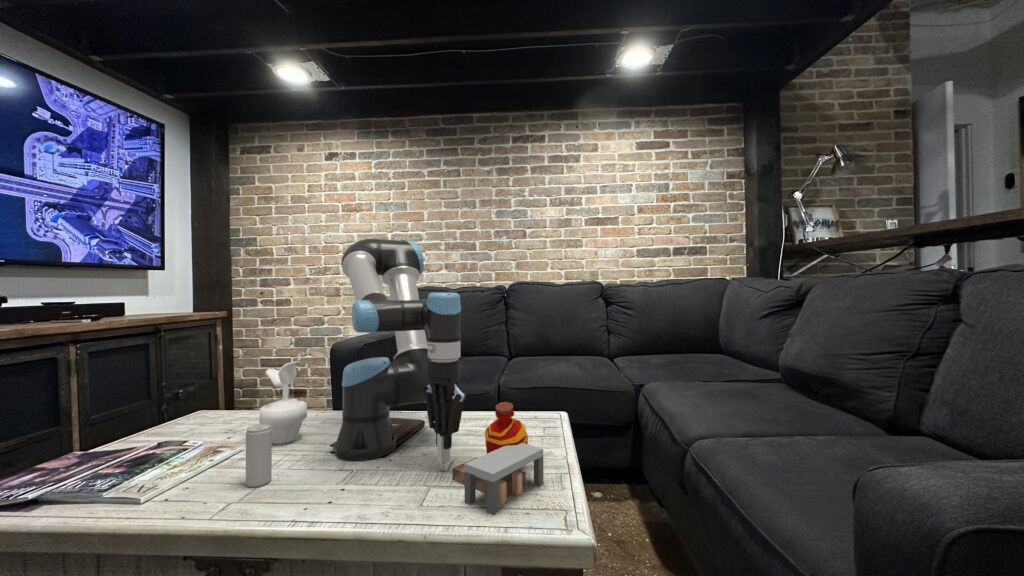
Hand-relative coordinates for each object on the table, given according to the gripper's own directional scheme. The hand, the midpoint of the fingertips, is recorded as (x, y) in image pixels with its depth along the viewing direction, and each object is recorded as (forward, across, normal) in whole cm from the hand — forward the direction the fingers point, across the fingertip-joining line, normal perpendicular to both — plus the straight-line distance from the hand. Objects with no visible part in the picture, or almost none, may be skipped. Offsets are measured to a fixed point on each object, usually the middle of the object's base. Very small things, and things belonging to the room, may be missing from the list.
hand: (443, 461), depth 96 cm
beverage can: (+3, -26, -29) cm, 40 cm away
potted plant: (+3, -50, -15) cm, 52 cm away
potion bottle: (+1, +11, +10) cm, 15 cm away
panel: (+2, +12, +2) cm, 13 cm away
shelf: (+2, +18, +1) cm, 18 cm away
